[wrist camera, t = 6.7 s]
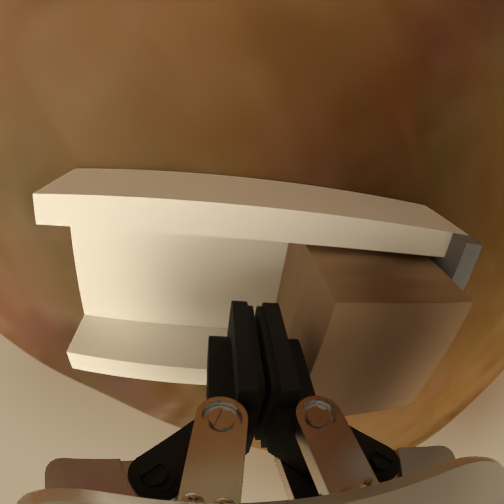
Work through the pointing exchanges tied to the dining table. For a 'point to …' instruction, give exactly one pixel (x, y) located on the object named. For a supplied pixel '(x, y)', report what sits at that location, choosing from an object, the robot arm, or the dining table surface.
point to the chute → (209, 255)
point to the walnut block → (369, 322)
